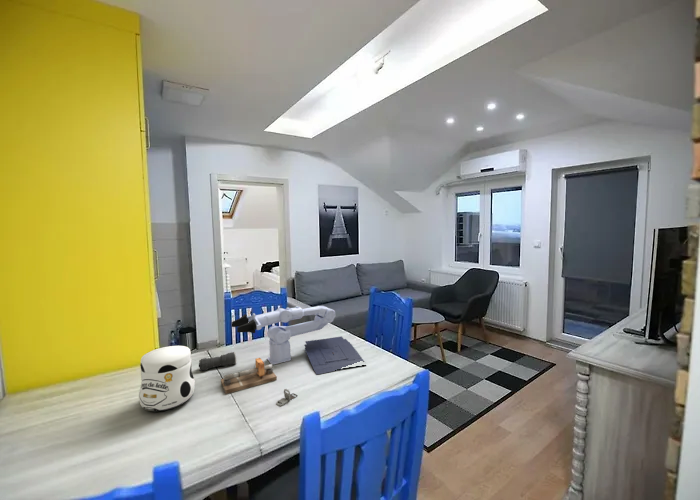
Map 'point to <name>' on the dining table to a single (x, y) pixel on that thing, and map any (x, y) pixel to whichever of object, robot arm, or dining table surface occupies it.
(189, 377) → the milk container
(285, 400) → the strap clip
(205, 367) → the flashlight
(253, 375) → the pipe stand
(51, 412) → the dining table surface
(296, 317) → the robot arm
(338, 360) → the grey flat slab
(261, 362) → the collar
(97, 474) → the dining table surface
